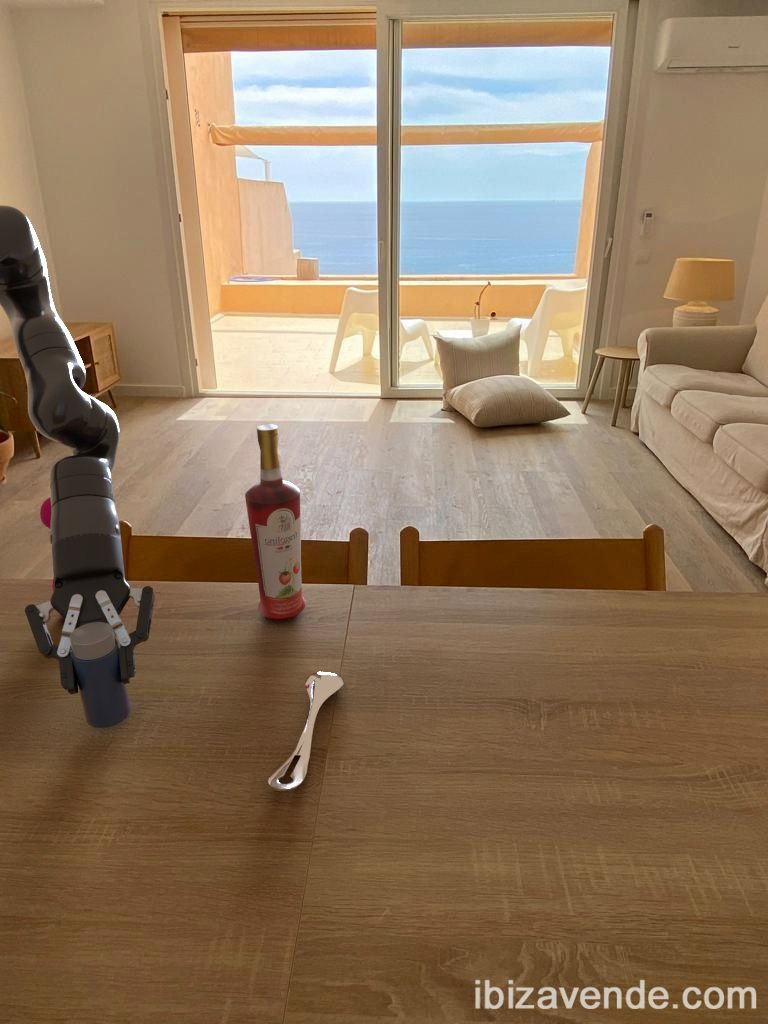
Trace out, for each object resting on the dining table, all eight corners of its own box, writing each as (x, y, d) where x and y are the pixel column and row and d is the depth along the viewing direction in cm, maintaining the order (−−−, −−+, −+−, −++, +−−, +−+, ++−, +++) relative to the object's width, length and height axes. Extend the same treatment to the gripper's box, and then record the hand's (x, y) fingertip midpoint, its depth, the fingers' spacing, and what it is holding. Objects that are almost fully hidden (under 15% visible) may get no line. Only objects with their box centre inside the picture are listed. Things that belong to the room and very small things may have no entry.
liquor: (299, 595, 105) (286, 416, 93) (314, 619, 99) (303, 431, 87) (251, 606, 102) (232, 423, 91) (264, 631, 96) (245, 439, 85)
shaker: (78, 727, 77) (59, 645, 73) (96, 699, 82) (79, 620, 77) (121, 728, 77) (104, 646, 73) (136, 700, 82) (121, 620, 77)
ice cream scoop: (301, 776, 67) (254, 769, 67) (302, 805, 68) (256, 798, 69) (349, 662, 85) (312, 658, 86) (349, 687, 86) (313, 683, 87)
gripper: (153, 544, 87) (170, 680, 81) (28, 561, 83) (36, 705, 77) (147, 522, 80) (165, 669, 74) (10, 540, 76) (18, 696, 70)
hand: (99, 687), depth 76 cm, fingers closed on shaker, 5 cm apart
